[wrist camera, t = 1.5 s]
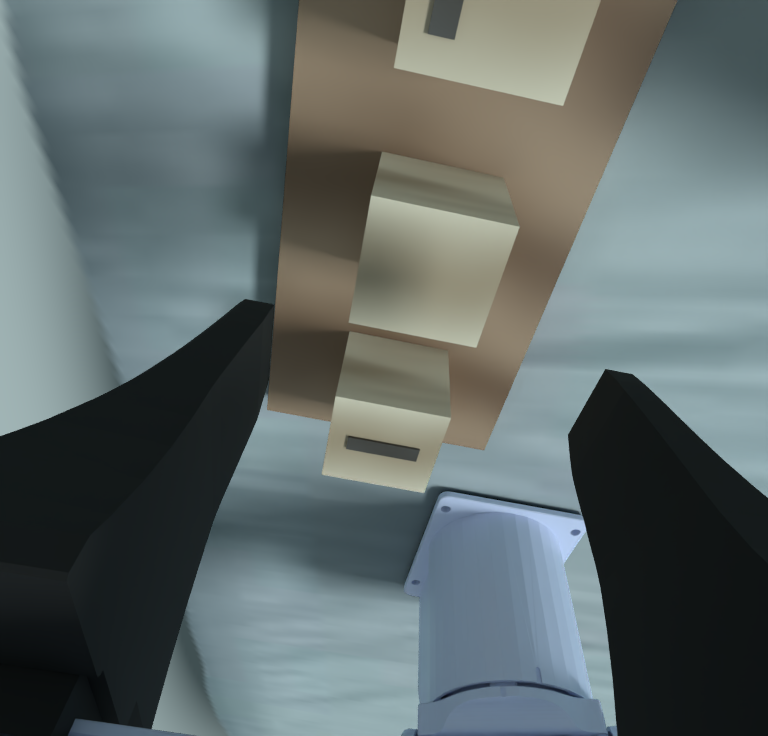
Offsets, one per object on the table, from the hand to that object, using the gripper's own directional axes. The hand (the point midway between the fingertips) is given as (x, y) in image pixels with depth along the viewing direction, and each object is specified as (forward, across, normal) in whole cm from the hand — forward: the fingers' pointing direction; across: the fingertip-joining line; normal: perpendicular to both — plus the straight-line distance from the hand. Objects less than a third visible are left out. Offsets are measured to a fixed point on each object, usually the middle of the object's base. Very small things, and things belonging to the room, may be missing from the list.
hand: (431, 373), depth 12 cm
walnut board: (+10, 0, 0) cm, 10 cm away
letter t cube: (+9, 0, -7) cm, 11 cm away
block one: (+8, 0, +7) cm, 11 cm away
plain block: (+8, 0, 0) cm, 9 cm away
